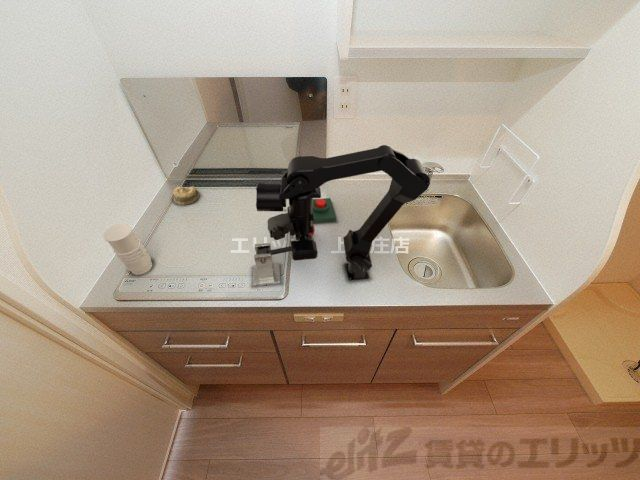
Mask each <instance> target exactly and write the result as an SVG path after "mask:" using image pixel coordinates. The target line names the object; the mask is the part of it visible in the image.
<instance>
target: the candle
mask: <svg viewBox="0 0 640 480" xmlns="http://www.w3.org/2000/svg"><path fill="white" fill-rule="evenodd" d="M102 238H103V239H104V241H106V242H107V243H108V244H109V246H110V247H111V248H112V249H113V253H114V254H115V255H116V257H117V258H118V260H119V261H120V262H121V263H122V264H123V265H124V267H125V268H126V269H127V271H128V272H131V274H133V275H137V276H139V275H143V274H146V273H148V272H149V271H150V270H151V269H152V267H153V262H152V258H151V256H150V254H149V253H148V251H147V249H146V248H145V246H144V244H143V243H142V240H140V239H139V238H138V237H137V235H136V234H135V232H134V231H133V227H132V226H131V225H130V224H128V223H119V224H114V225H112V226H110V227H109V228H107V229H106V230H105V231H104V232H103V234H102Z"/></svg>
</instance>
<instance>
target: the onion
mask: <svg viewBox="0 0 640 480" xmlns="http://www.w3.org/2000/svg"><path fill="white" fill-rule="evenodd" d="M312 226H313V233H309V235H310V236H312V237H313V236H314V235H315V231H316V228H315V224H314V223H313V224H312Z"/></svg>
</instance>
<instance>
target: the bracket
mask: <svg viewBox="0 0 640 480" xmlns="http://www.w3.org/2000/svg"><path fill="white" fill-rule="evenodd" d="M271 245H272V243H271V242H265V243H263V242H262V243H255V244H254V251H255V254H254V255H253V259H254V263H255V265H253V266H252V286H253V287H255V286H264V285H274V284H281V270H280V269H281V268H280V263H274V260H273V255H271V253H269V254H258V255H257V250H258V249H263V248H267V249H268V251H269V250H272V246H271Z"/></svg>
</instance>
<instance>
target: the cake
mask: <svg viewBox="0 0 640 480" xmlns="http://www.w3.org/2000/svg"><path fill="white" fill-rule="evenodd" d="M172 196H173V202H174V203H175V204H177V205H179V206H186V205H191V204H193V203H195V202H196V201H197V200H198V199H199V198H200V196H201V195H200V192H199V191H198V189H197V188H196V187H195V186H194V185H192V186H190V187H189V188H188V187H187V188H186V187H184V186H176V188H174V189H173V190H172Z"/></svg>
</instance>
